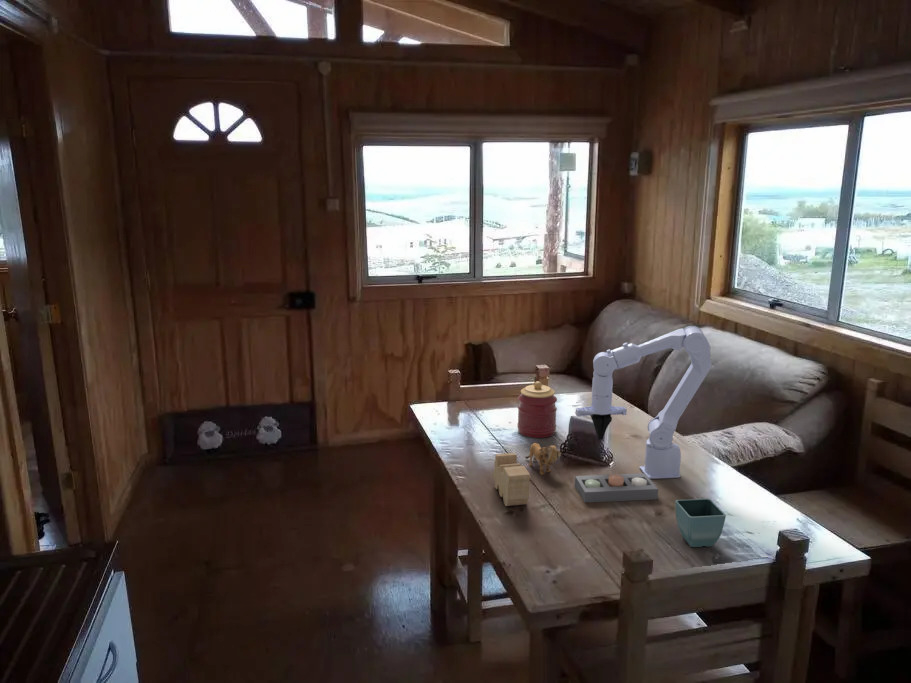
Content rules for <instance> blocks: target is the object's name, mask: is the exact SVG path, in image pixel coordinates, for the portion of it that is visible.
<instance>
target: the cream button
mask: <svg viewBox="0 0 911 683" xmlns="http://www.w3.org/2000/svg"><path fill="white" fill-rule="evenodd" d="M631 483H632V485H633V486H640V485H647V481H646V480H645V479H643V478H633V479H632V482H631Z"/></svg>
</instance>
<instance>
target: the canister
mask: <svg viewBox="0 0 911 683" xmlns="http://www.w3.org/2000/svg"><path fill="white" fill-rule="evenodd" d="M555 392H556V391H555V390H554V389H553V388H551V387H550V386H548V385H544V384H542V382H541V381H538V380H537V381H535V382H534V383H533V384H530V385H527V386H525V387H523V388H522V389H521V390H520V393H521V394H520V395H519V396H518V397H517V399H518V401H519V404H518V405H517V410H518V411H517V412H518V414H517V427H516V428H517V431H518V433H519V434H521V436H524V437H529V438H533V439H535V438H536V439H540V438H541V439H543V438H549V437H552V436H554V435H555V433H556V430H557V424H556V423H557V422H556V421H557V410H558V408H557V406H556V403H557V402H558V397H556V396H555Z"/></svg>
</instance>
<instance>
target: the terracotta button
mask: <svg viewBox="0 0 911 683" xmlns="http://www.w3.org/2000/svg"><path fill="white" fill-rule="evenodd" d="M618 474H619V473H616V474H615V473H612V474H608V475H609V481H608V485H609V486H610V487H617V486H623V483H624V477H623V476H621V475H618Z"/></svg>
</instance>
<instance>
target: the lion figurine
mask: <svg viewBox="0 0 911 683" xmlns="http://www.w3.org/2000/svg"><path fill="white" fill-rule="evenodd" d="M561 455H562V452H561V451H559V450H558V449H557V446H556V445H548V446H545V447H544V446H543V447H541V445H540V444H539V443H536V442H534V443H532V444H531V445H530V449H529V455H527V456H525V460H527V459H529V463H528V467H533V466H534V464H533V462H539V475H544V474H545V472H546V473H551V469H550V466H551V465H553V463H555V462H556V461H557V459H560V457H561ZM544 466H545V472H544Z"/></svg>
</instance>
